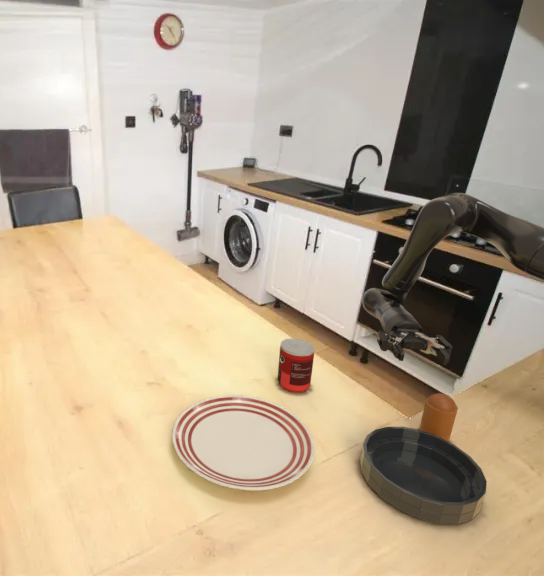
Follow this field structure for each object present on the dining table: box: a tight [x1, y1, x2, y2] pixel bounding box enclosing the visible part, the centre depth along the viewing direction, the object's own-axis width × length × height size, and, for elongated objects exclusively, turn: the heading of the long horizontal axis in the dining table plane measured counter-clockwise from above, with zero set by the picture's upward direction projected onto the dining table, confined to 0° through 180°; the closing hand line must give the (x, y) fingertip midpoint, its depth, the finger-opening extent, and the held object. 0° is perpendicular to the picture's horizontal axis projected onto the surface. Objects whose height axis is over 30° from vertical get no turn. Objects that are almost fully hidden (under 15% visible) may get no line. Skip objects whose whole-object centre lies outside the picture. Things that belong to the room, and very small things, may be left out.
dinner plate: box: [171, 394, 316, 491], centre depth 81 cm, size 28×27×3 cm
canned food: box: [277, 337, 315, 394], centre depth 100 cm, size 8×8×11 cm
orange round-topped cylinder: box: [418, 392, 458, 442], centre depth 81 cm, size 5×5×10 cm
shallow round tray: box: [359, 426, 488, 525], centre depth 72 cm, size 18×18×4 cm
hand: (423, 359), depth 89 cm, fingers open, 8 cm apart
